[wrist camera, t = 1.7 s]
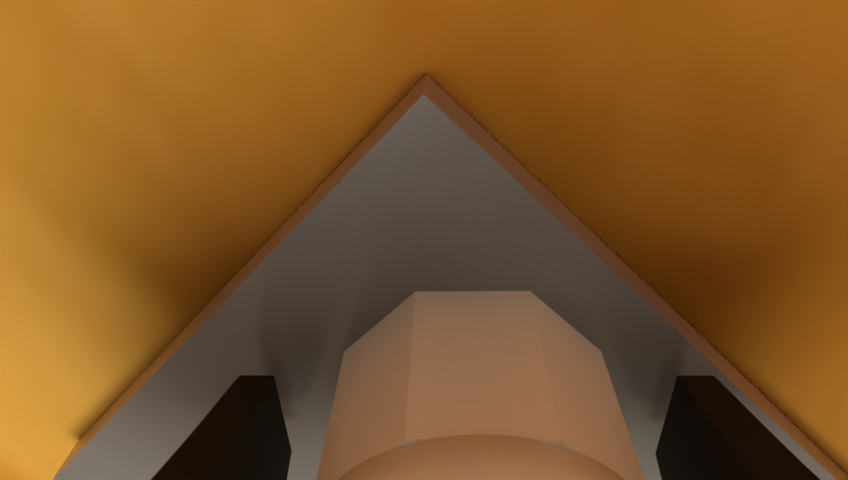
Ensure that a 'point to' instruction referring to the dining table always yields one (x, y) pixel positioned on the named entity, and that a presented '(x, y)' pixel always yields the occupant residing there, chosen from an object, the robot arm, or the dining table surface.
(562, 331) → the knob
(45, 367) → the dining table surface
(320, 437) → the board
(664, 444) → the robot arm
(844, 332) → the dining table surface
